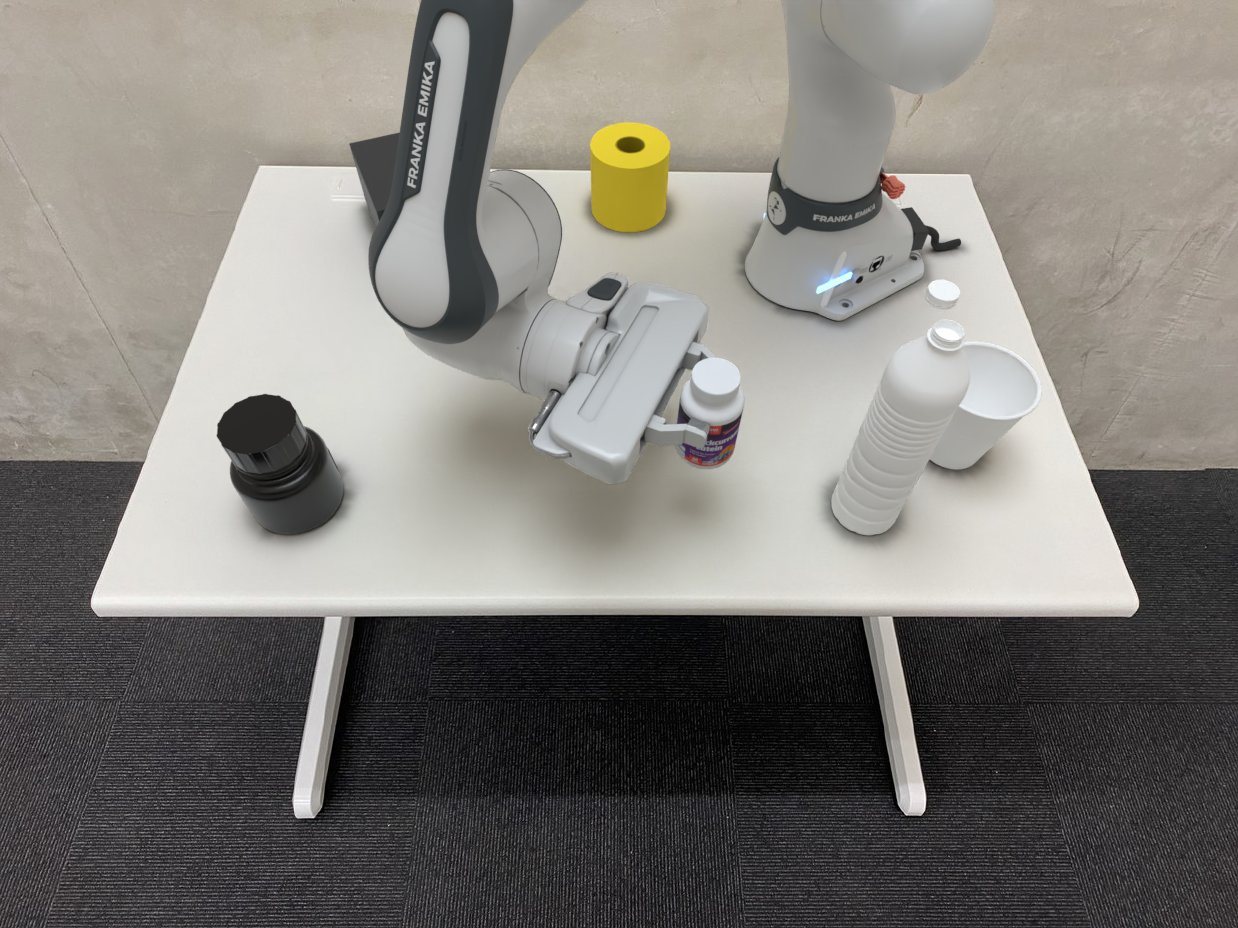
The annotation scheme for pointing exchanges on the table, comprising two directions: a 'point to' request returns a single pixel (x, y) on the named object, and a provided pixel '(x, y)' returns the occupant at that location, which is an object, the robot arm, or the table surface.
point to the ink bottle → (279, 465)
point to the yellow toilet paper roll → (629, 176)
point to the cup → (987, 404)
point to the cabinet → (376, 170)
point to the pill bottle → (712, 411)
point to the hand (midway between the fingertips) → (721, 407)
